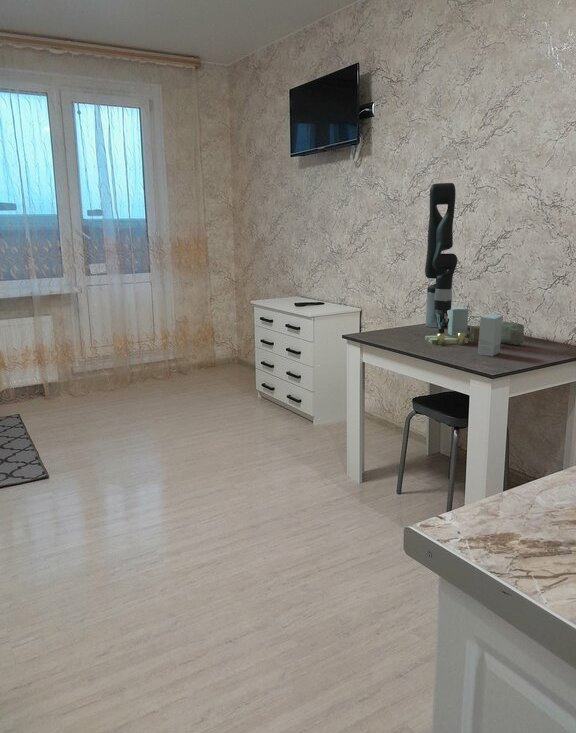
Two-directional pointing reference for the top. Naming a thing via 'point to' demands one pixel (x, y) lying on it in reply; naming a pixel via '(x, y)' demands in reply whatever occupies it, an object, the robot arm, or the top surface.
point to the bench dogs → (442, 336)
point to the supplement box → (458, 320)
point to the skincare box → (490, 334)
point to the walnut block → (474, 333)
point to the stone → (512, 333)
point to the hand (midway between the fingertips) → (441, 336)
